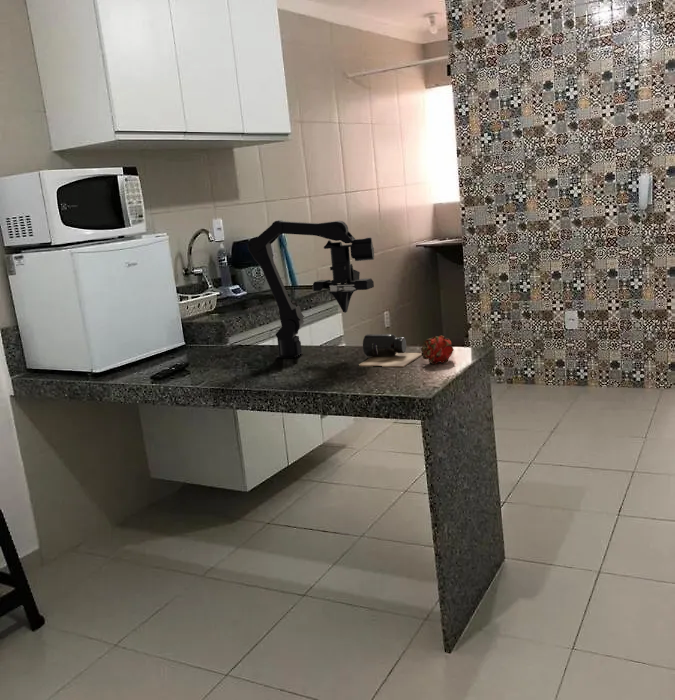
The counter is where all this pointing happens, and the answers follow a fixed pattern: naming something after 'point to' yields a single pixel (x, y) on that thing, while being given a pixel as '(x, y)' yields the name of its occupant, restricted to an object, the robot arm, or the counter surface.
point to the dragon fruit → (437, 349)
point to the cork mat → (392, 360)
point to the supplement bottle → (383, 345)
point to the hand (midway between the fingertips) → (345, 312)
